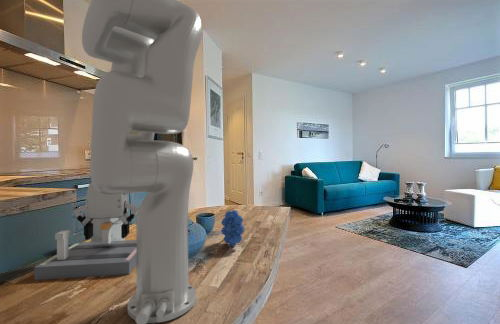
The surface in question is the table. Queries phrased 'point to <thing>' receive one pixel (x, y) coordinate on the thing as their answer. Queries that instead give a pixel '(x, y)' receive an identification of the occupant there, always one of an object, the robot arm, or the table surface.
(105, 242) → the lever
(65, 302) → the table surface
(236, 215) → the grapes
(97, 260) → the switch panel
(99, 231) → the supplement box
